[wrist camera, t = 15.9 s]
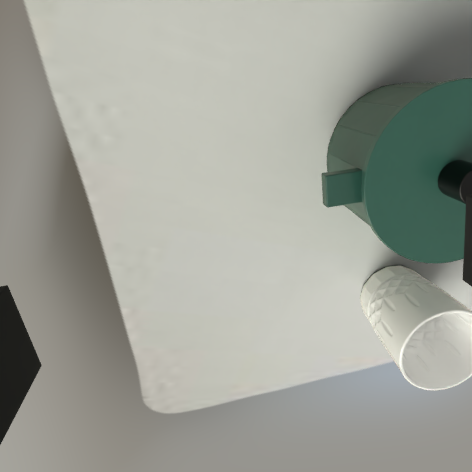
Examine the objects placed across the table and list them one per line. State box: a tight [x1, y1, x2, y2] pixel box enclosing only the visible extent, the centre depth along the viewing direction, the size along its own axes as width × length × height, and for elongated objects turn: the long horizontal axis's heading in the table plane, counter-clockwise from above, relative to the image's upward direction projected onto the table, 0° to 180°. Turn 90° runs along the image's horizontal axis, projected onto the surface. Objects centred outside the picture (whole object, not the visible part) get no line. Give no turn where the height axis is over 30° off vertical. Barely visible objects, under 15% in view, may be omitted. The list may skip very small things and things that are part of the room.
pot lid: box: [361, 78, 472, 263], centre depth 28 cm, size 13×13×4 cm
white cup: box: [360, 266, 472, 390], centre depth 39 cm, size 8×8×10 cm
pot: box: [322, 83, 439, 225], centre depth 34 cm, size 12×18×9 cm
